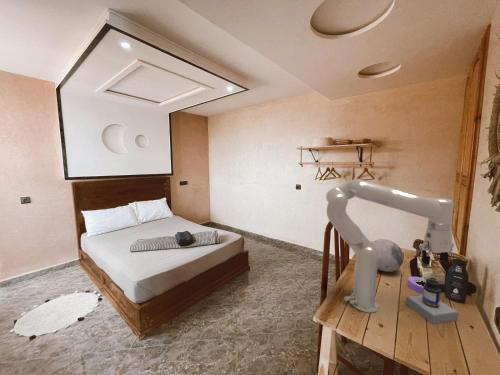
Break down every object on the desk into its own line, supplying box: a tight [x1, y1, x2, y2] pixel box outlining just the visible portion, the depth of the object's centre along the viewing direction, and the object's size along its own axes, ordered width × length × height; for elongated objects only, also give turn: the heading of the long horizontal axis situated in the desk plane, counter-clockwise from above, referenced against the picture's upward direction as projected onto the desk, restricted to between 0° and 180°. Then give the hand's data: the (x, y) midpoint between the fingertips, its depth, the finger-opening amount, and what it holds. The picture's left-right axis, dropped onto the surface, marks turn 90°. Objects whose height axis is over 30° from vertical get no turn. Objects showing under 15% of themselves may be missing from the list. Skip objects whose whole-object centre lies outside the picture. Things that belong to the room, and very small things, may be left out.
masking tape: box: [407, 276, 426, 295], centre depth 114 cm, size 12×12×4 cm
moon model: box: [371, 238, 405, 273], centre depth 133 cm, size 20×20×20 cm
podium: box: [405, 294, 459, 325], centre depth 96 cm, size 13×13×4 cm
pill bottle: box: [422, 278, 442, 308], centre depth 95 cm, size 6×6×11 cm
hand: (434, 262), depth 94 cm, fingers open, 9 cm apart
